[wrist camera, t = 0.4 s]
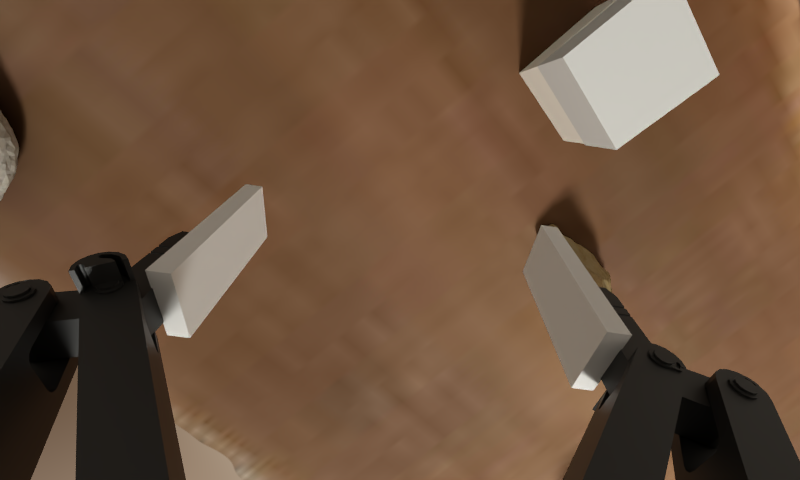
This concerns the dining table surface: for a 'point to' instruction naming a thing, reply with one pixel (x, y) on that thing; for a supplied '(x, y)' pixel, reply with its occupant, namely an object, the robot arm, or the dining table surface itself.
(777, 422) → the robot arm
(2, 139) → the decorative shell
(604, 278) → the rock
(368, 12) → the dining table surface
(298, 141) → the dining table surface
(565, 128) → the tower base
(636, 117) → the tower top
